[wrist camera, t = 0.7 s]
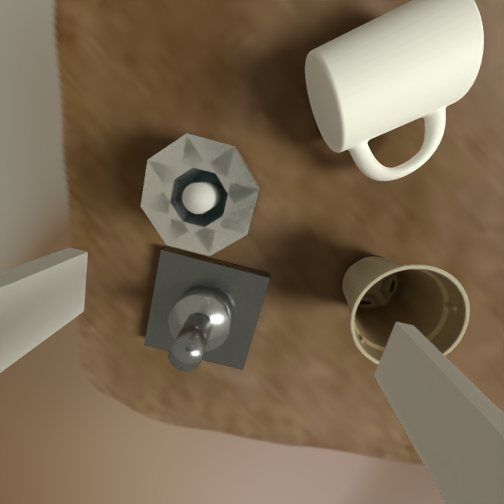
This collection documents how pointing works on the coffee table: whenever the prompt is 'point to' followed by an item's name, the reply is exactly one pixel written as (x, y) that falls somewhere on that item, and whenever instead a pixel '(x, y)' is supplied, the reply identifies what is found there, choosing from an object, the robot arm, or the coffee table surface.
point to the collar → (182, 174)
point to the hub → (204, 309)
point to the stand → (205, 195)
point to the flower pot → (403, 304)
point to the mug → (394, 78)
